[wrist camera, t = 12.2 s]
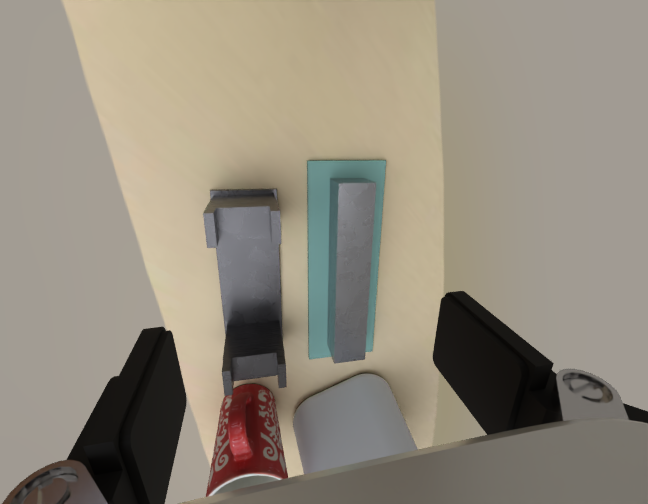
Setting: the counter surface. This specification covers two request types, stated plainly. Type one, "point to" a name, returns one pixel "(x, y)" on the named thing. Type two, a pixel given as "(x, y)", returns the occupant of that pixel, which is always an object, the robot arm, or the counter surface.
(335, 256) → the rail
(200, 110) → the counter surface
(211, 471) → the mug
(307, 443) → the plastic bottle
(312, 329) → the mat
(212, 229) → the brackets
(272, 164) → the counter surface
